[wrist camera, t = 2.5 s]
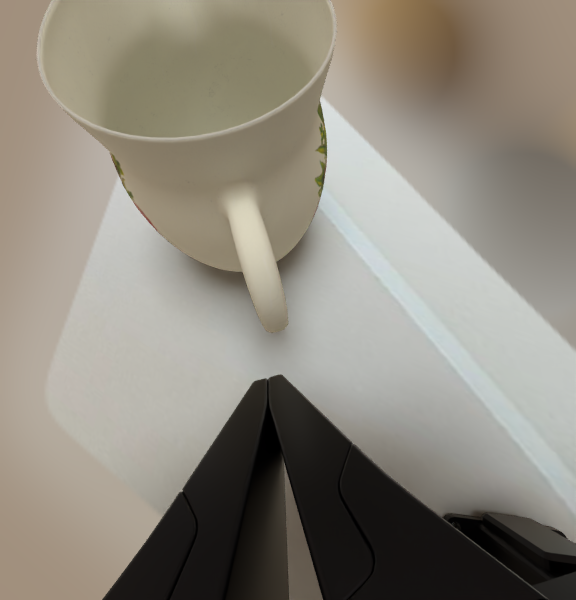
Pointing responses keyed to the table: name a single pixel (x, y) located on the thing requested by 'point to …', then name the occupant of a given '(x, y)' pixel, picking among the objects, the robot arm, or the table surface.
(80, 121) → the pitcher
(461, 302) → the table surface
